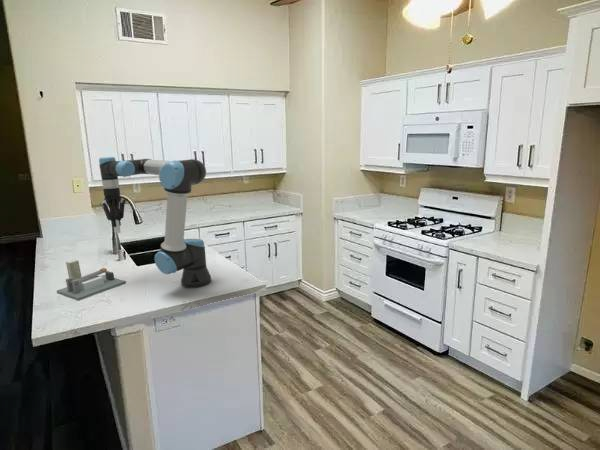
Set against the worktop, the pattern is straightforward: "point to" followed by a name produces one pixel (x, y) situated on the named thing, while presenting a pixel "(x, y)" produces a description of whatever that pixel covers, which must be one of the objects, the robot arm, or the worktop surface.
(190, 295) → the worktop surface
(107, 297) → the worktop surface
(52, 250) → the worktop surface
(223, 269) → the worktop surface
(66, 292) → the clamp base
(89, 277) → the lever handle
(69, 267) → the box
